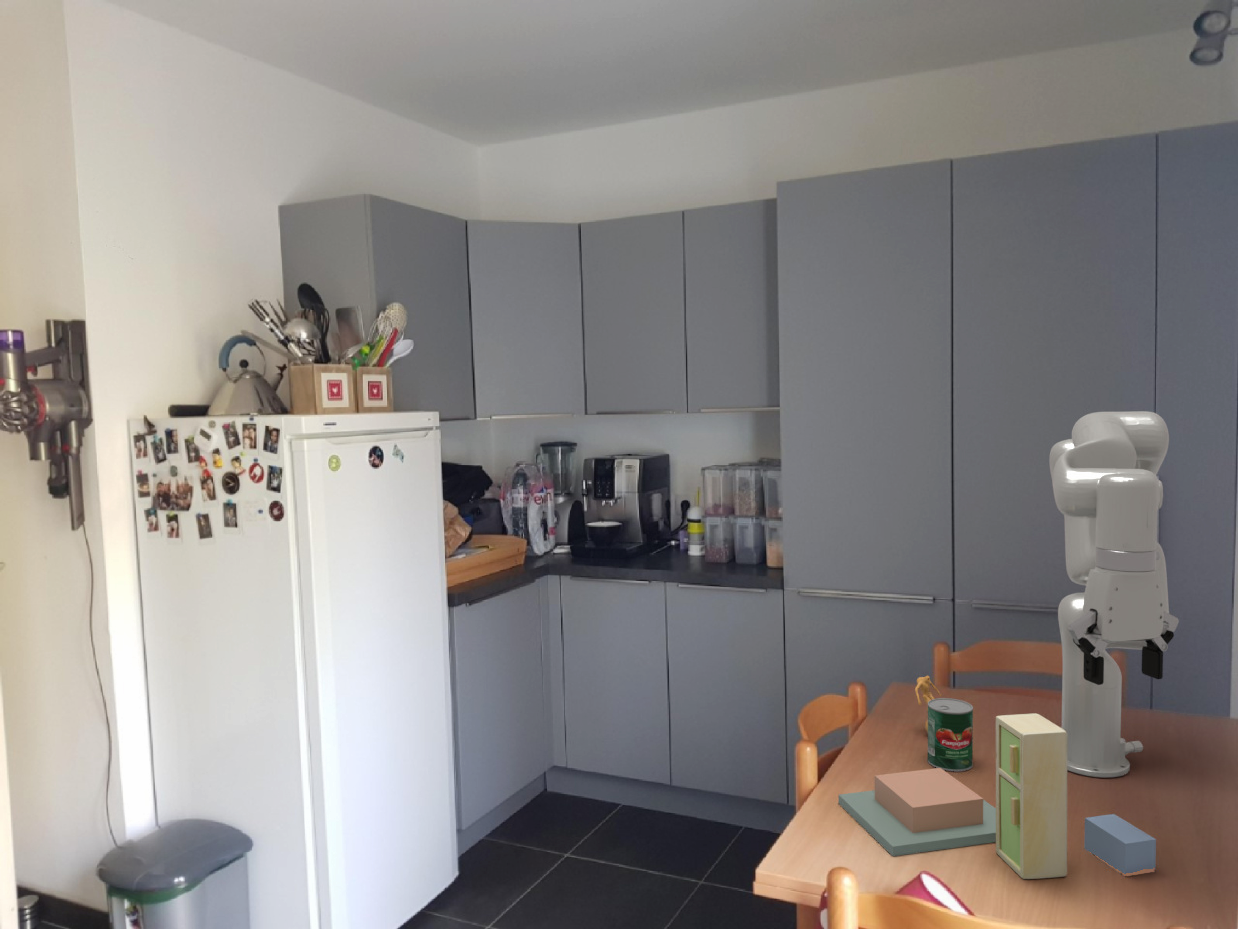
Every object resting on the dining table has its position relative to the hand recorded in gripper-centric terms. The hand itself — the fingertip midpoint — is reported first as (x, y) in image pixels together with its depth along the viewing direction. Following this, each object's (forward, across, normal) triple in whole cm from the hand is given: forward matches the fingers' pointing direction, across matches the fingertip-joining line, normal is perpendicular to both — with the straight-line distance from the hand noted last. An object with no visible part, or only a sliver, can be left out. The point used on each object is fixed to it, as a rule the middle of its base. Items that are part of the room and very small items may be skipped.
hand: (1122, 679), depth 129 cm
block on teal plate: (+27, +20, -18) cm, 38 cm away
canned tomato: (+27, +4, -37) cm, 46 cm away
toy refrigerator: (+27, +13, -2) cm, 30 cm away
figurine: (+27, 0, -50) cm, 57 cm away
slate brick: (+27, 0, 0) cm, 27 cm away
